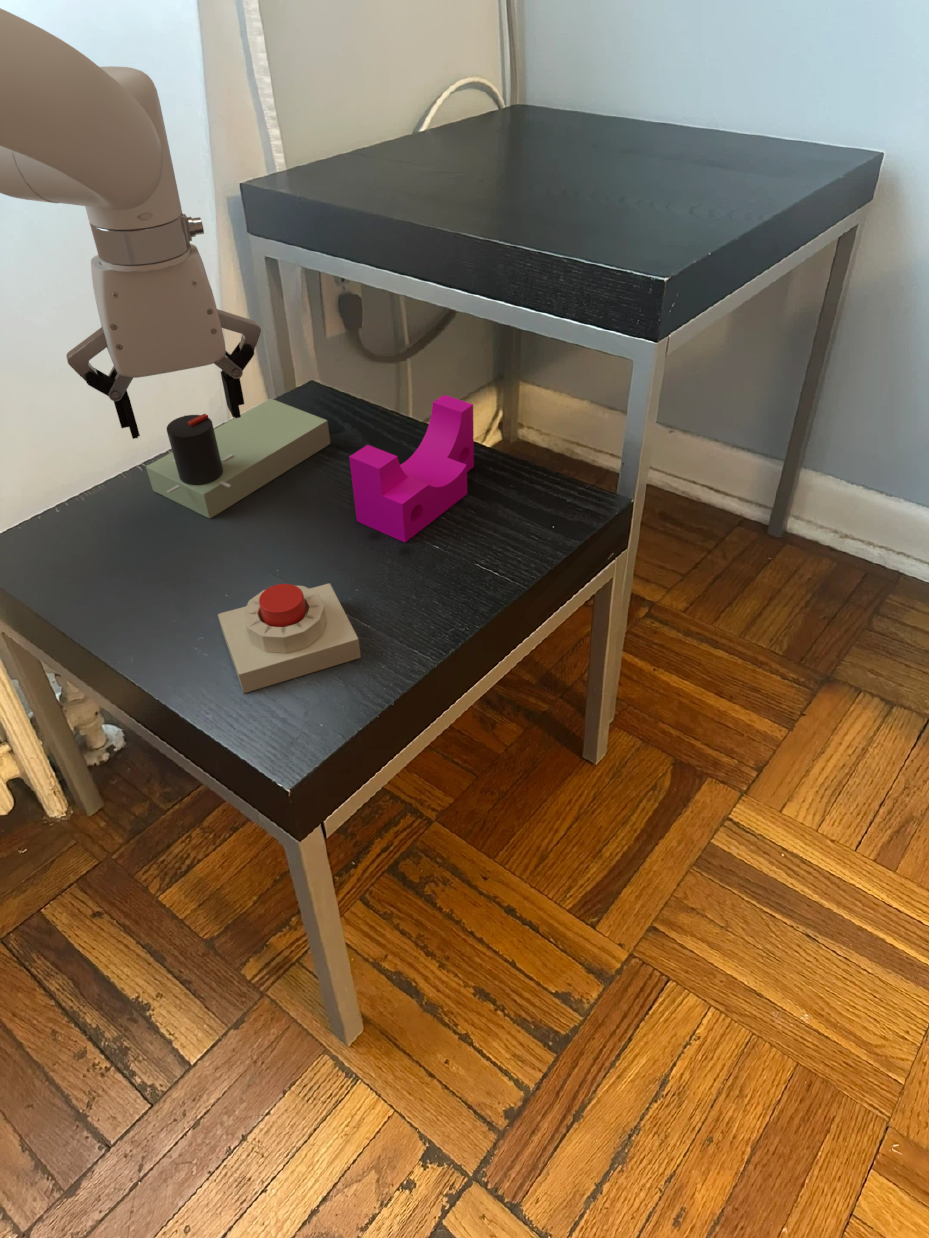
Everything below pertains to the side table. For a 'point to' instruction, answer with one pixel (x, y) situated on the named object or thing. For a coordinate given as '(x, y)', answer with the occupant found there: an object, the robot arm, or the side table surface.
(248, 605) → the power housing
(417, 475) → the toy block
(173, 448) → the timer dial
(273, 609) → the power button
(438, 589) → the side table surface
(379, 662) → the side table surface
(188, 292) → the robot arm
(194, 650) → the side table surface
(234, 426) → the dial panel
